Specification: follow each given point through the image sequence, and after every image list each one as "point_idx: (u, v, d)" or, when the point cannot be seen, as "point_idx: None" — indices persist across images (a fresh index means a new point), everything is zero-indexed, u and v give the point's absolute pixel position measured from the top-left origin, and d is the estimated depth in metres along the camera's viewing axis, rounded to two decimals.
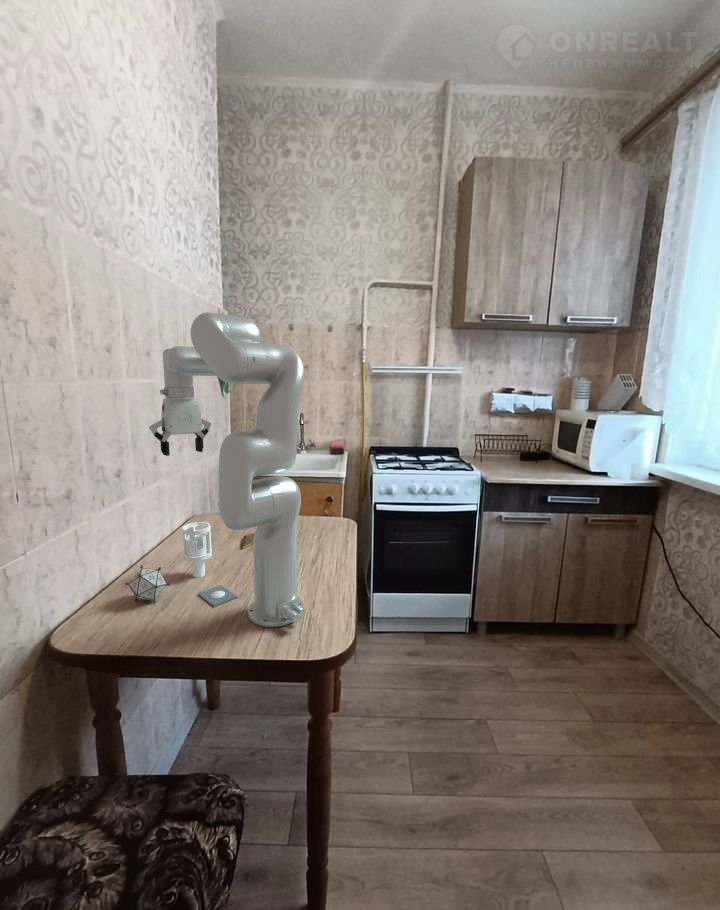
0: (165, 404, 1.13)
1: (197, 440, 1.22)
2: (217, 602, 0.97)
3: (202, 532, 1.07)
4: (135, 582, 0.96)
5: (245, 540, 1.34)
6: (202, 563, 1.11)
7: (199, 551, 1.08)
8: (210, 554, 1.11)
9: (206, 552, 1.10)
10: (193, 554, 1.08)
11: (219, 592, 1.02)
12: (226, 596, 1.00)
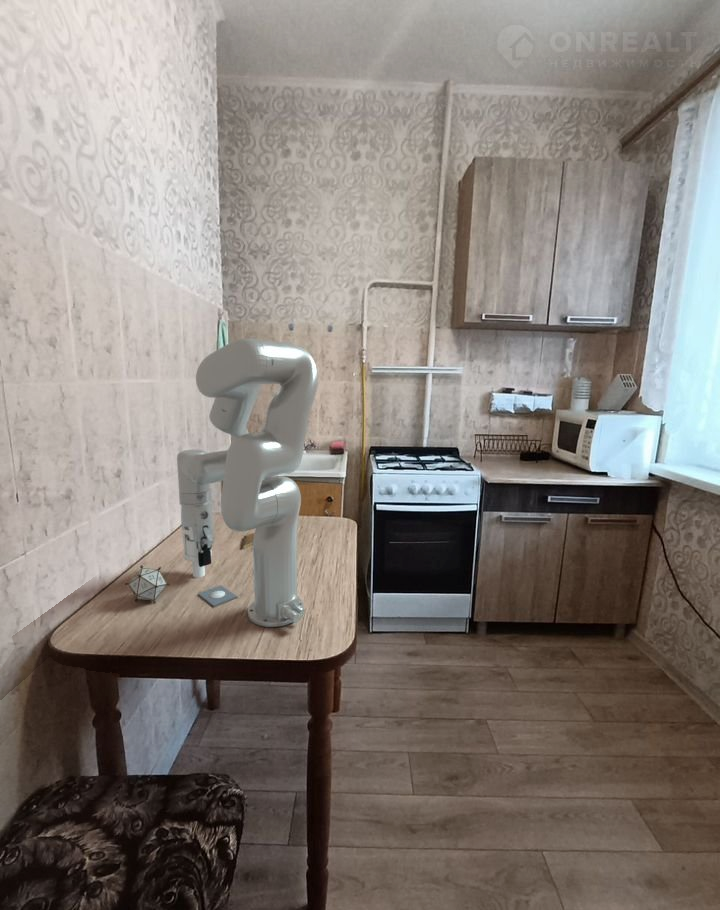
0: (208, 510, 1.06)
1: None
2: (217, 602, 0.97)
3: None
4: (135, 582, 0.96)
5: (245, 540, 1.34)
6: None
7: (199, 551, 1.08)
8: None
9: None
10: (193, 554, 1.08)
11: (219, 592, 1.02)
12: (226, 596, 1.00)
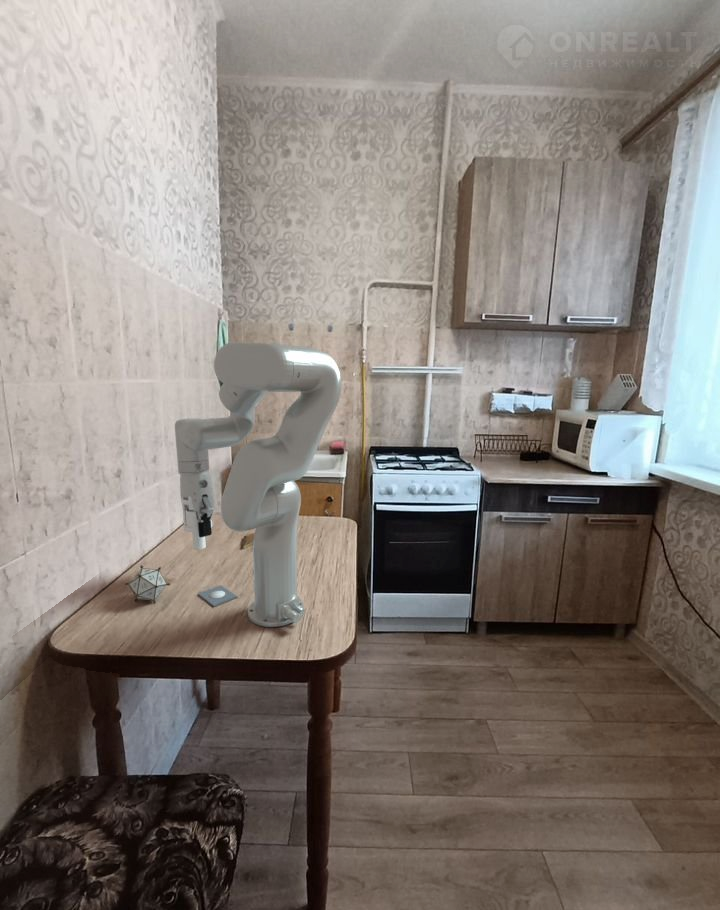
0: (207, 479, 1.05)
1: None
2: (217, 602, 0.97)
3: None
4: (135, 582, 0.96)
5: (245, 540, 1.34)
6: None
7: None
8: None
9: None
10: (193, 525, 1.06)
11: (219, 592, 1.02)
12: (226, 596, 1.00)
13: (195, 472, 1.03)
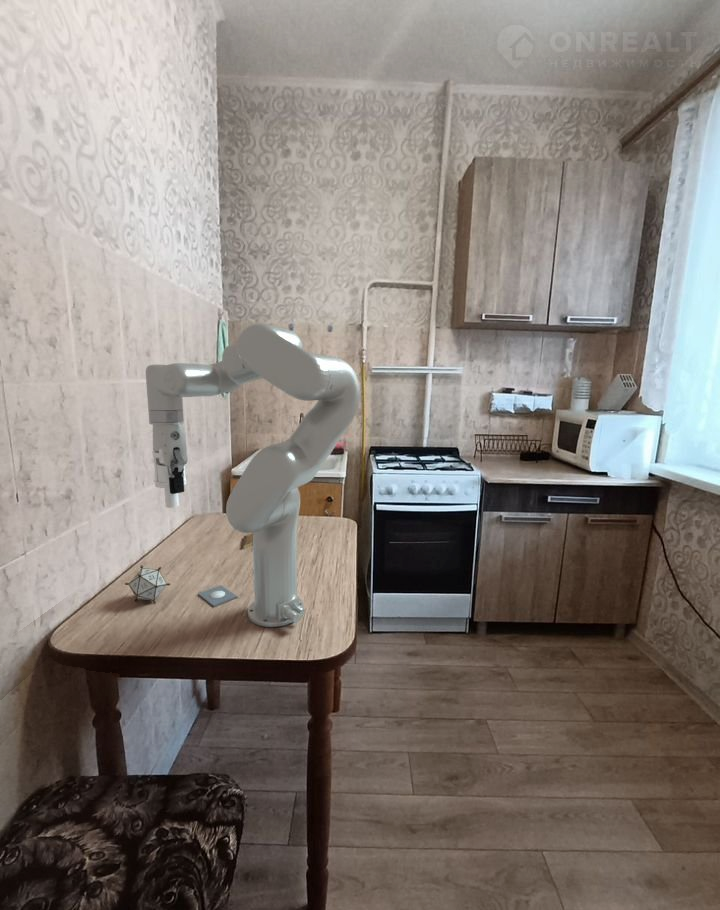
0: (180, 430, 0.97)
1: None
2: (217, 602, 0.97)
3: None
4: (135, 582, 0.96)
5: (245, 540, 1.34)
6: None
7: None
8: (184, 482, 1.01)
9: None
10: (164, 480, 0.98)
11: (219, 592, 1.02)
12: (226, 596, 1.00)
13: (166, 422, 0.95)
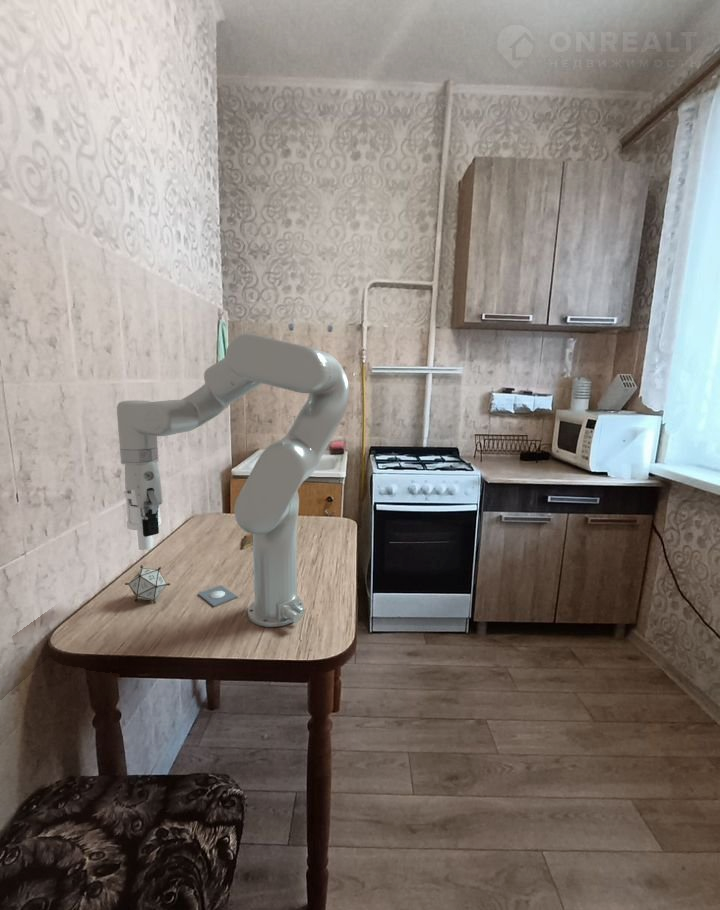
0: (154, 470, 0.91)
1: None
2: (217, 602, 0.97)
3: None
4: (135, 582, 0.96)
5: (245, 540, 1.34)
6: None
7: None
8: (158, 523, 0.96)
9: None
10: (137, 522, 0.93)
11: (219, 592, 1.02)
12: (226, 596, 1.00)
13: (139, 462, 0.90)
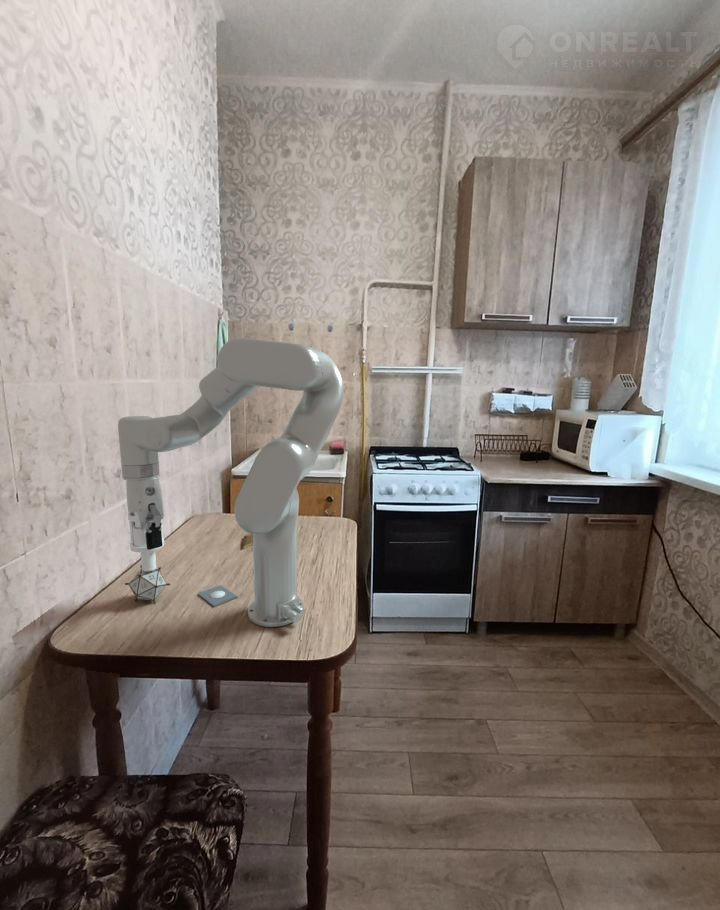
0: (155, 485, 0.92)
1: None
2: (217, 602, 0.97)
3: None
4: (135, 582, 0.96)
5: (245, 540, 1.34)
6: (152, 555, 0.97)
7: None
8: None
9: None
10: (140, 544, 0.94)
11: (219, 592, 1.02)
12: (226, 596, 1.00)
13: (141, 478, 0.91)
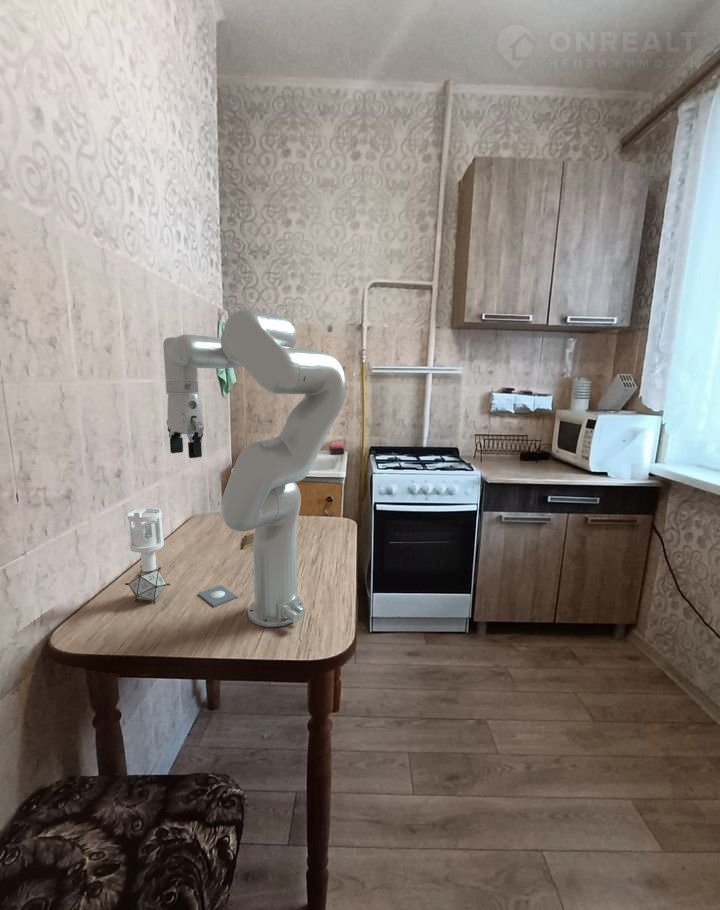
0: (197, 400, 1.03)
1: (177, 440, 1.09)
2: (217, 602, 0.97)
3: (150, 519, 0.93)
4: (135, 582, 0.96)
5: (245, 540, 1.34)
6: (152, 555, 0.97)
7: (147, 541, 0.94)
8: (161, 544, 0.96)
9: (155, 542, 0.96)
10: (140, 544, 0.94)
11: (219, 592, 1.02)
12: (226, 596, 1.00)
13: (184, 392, 1.01)
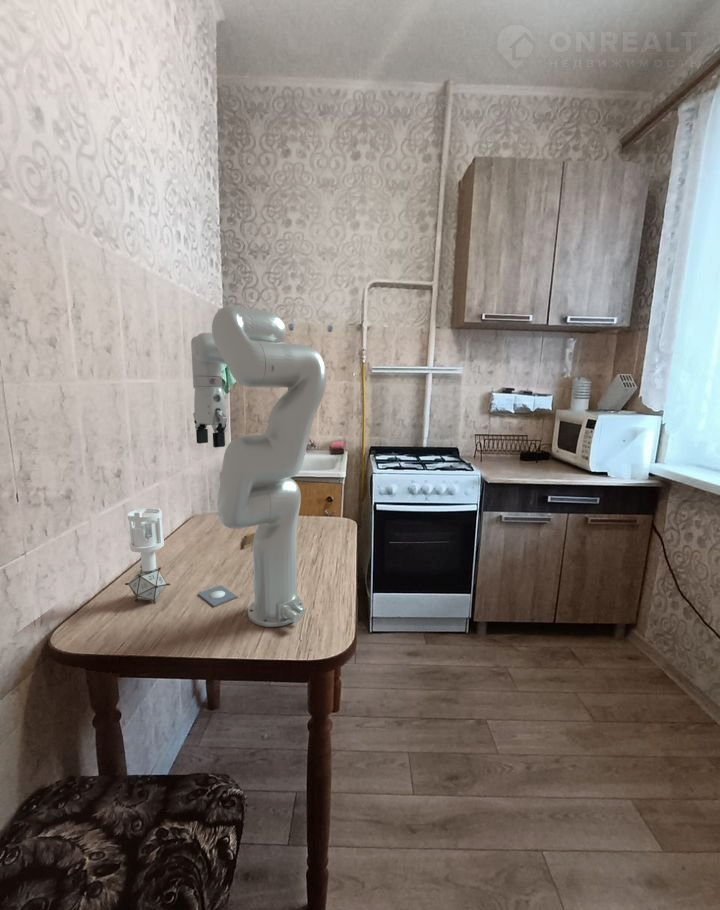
0: (221, 394, 1.11)
1: (202, 431, 1.18)
2: (217, 602, 0.97)
3: (150, 519, 0.93)
4: (135, 582, 0.96)
5: (245, 540, 1.34)
6: (152, 555, 0.97)
7: (147, 541, 0.94)
8: (161, 544, 0.96)
9: (155, 541, 0.96)
10: (140, 544, 0.94)
11: (219, 592, 1.02)
12: (226, 596, 1.00)
13: (209, 386, 1.10)
